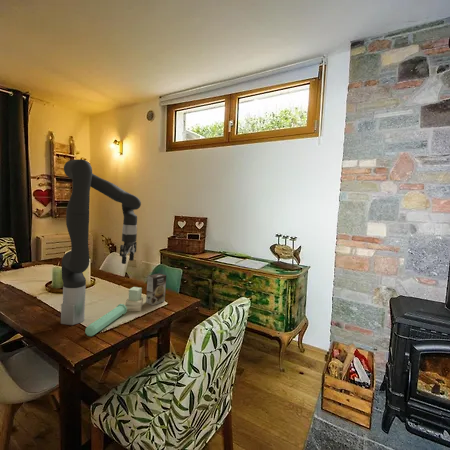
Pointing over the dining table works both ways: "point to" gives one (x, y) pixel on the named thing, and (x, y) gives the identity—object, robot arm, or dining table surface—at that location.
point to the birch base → (134, 305)
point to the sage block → (135, 294)
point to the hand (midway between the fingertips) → (127, 262)
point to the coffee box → (156, 289)
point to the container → (105, 320)
